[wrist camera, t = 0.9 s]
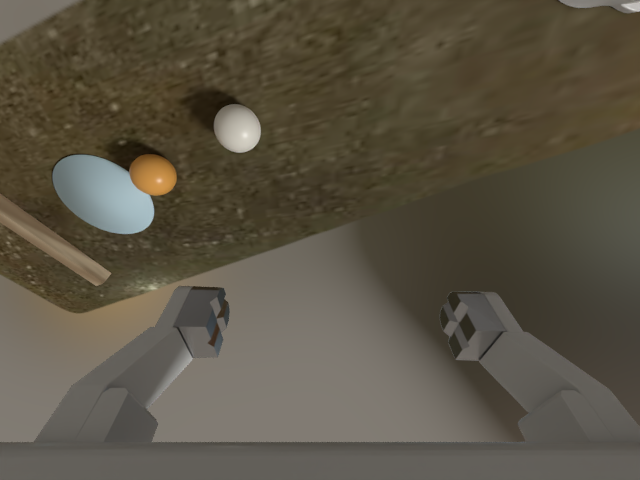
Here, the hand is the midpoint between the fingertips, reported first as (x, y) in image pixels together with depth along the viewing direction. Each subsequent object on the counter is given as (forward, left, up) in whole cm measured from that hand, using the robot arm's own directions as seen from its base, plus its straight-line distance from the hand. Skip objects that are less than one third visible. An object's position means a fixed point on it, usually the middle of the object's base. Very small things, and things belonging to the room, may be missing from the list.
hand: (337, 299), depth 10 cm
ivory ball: (+10, -5, -28) cm, 30 cm away
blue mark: (+35, -11, -31) cm, 48 cm away
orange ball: (+23, -8, -28) cm, 37 cm away
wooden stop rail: (+49, -15, -31) cm, 60 cm away
